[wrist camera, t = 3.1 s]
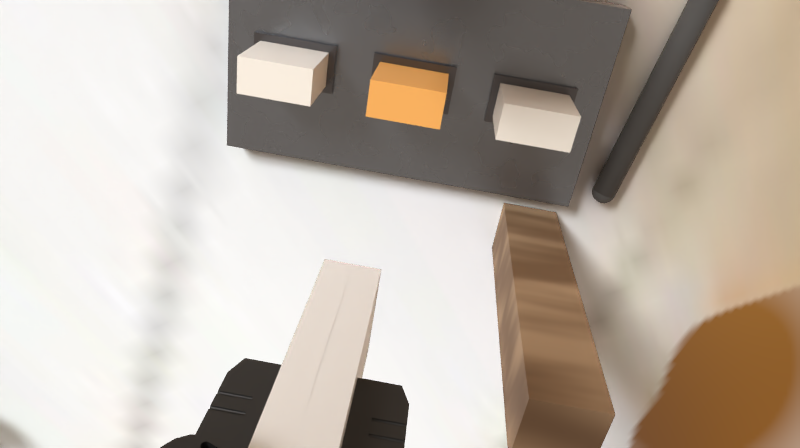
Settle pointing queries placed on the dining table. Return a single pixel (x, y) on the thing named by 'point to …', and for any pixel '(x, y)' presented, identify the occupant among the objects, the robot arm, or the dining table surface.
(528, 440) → the post
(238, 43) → the switch plate
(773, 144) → the dining table surface
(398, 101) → the block
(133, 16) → the dining table surface
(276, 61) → the paddle
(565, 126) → the cream rectangular box
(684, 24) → the dark grey rod
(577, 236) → the dining table surface
